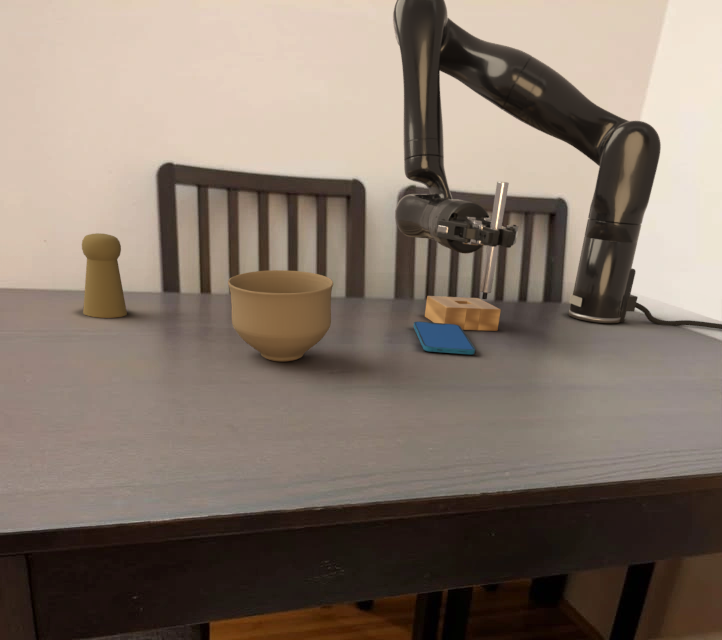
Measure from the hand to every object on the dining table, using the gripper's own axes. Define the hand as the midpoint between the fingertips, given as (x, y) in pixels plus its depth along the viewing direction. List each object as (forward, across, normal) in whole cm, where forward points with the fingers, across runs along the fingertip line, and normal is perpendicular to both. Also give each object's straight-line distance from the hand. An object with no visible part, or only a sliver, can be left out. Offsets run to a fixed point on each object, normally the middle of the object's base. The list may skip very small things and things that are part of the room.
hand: (503, 239), depth 101 cm
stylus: (-3, 0, +9) cm, 9 cm away
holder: (-16, +2, +15) cm, 22 cm away
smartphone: (-3, -6, +15) cm, 17 cm away
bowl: (+8, -32, +16) cm, 36 cm away
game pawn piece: (-15, -54, +16) cm, 58 cm away
